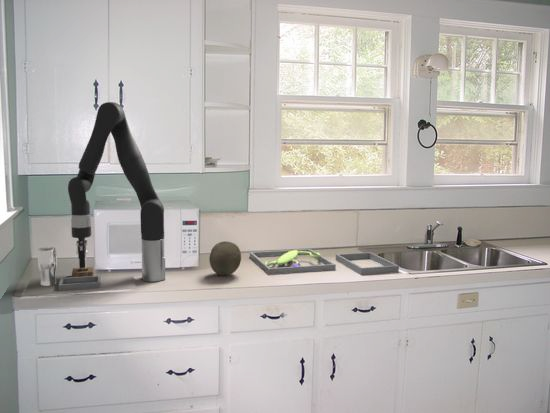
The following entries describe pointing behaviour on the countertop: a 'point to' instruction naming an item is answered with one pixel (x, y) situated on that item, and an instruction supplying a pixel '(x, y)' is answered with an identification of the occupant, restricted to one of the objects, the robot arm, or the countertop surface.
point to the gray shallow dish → (386, 268)
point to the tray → (80, 285)
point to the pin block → (82, 272)
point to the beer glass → (47, 265)
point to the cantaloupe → (225, 258)
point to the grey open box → (327, 266)
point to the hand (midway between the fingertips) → (82, 266)
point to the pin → (85, 262)
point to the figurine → (290, 258)
